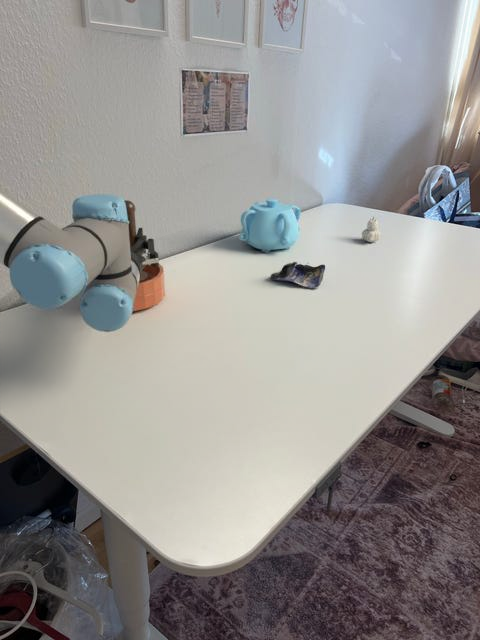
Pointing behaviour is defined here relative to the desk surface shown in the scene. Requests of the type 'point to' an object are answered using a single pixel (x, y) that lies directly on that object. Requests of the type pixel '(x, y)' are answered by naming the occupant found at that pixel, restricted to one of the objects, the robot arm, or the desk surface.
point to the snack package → (301, 274)
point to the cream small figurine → (371, 231)
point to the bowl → (150, 288)
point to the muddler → (133, 232)
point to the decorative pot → (270, 225)
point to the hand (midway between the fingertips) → (132, 233)
